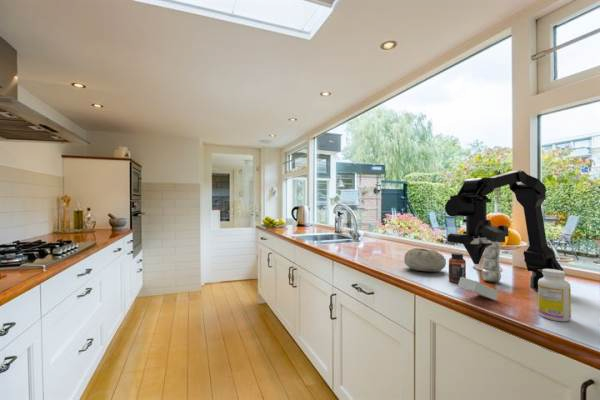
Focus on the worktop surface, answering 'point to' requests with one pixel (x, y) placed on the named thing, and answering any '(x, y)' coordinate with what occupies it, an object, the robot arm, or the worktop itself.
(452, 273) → the supplement bottle
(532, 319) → the worktop surface
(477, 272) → the worktop surface
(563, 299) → the supplement bottle
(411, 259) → the smooth grey pebble
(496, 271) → the stone figurine
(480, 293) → the white rectangular block
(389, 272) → the worktop surface
